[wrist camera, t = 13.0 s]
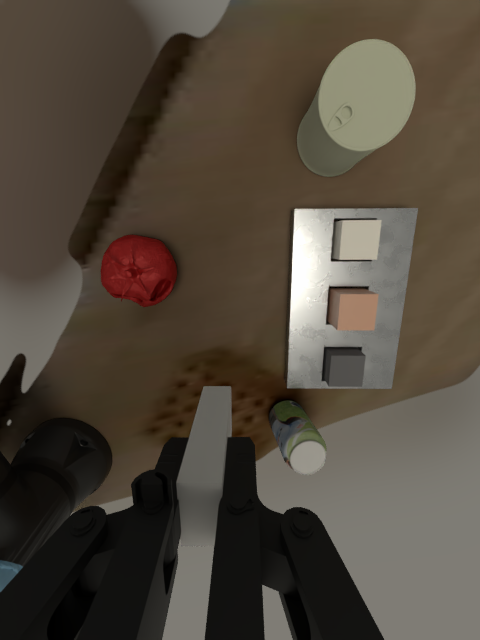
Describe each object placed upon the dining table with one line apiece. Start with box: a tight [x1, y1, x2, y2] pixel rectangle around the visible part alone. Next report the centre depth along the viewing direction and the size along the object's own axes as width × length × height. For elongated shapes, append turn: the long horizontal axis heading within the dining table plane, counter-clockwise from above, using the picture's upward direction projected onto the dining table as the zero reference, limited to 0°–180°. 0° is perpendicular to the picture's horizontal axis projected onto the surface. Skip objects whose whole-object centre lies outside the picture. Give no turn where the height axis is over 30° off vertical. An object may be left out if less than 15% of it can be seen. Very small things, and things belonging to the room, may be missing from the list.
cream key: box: [331, 220, 382, 260], centre depth 39 cm, size 5×5×5 cm
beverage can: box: [269, 400, 326, 475], centre depth 43 cm, size 6×7×12 cm
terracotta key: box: [327, 288, 379, 330], centre depth 40 cm, size 5×5×5 cm
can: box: [297, 39, 415, 177], centre depth 33 cm, size 9×9×12 cm
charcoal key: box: [322, 347, 366, 387], centre depth 44 cm, size 5×5×5 cm
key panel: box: [285, 208, 418, 389], centre depth 43 cm, size 16×26×3 cm, turn 0°
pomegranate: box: [101, 235, 177, 307], centre depth 39 cm, size 10×10×9 cm
